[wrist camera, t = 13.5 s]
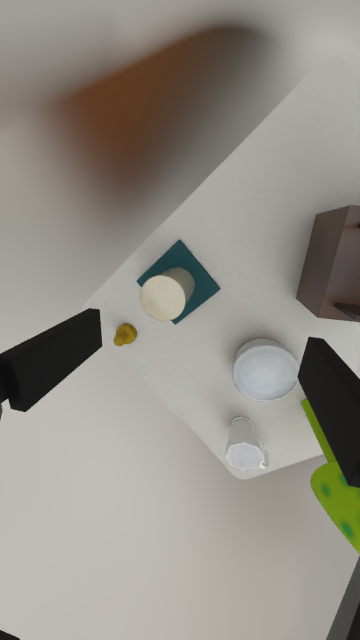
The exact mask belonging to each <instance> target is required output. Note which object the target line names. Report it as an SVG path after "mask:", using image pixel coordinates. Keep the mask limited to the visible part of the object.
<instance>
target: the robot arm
mask: <svg viewBox="0 0 360 640" xmlns="http://www.w3.org/2000/svg"><path fill="white" fill-rule="evenodd" d="M101 347H102V336H101V322H100V310H99V309H91V308H89V309H87V310H85V311H83V312H81V313H79V314H78V315H75V316H74V317H71V318H69V319H67V320H66V321H64V322H62V323H60V324H58V325H56V326H54V327H52V328H50V329H48V330H46V331H44V332H42V333H40V334H39V335H36V336H35V337H33V338H31V339H28V340H26V341H24V342H22V343H21V344H19V345H17V346H15V347H13V348H11V349H9V350H7V351H5V352H3V353H1V354H0V419H1V414H2V405H1V403H2V402H3V401H5V400H6V399H9V403H10V407H11V409H14V410H18V411H23V412H26V411H27V410H29V409H30V408H31V407H32V406H33V405H34V404H36V403H37V402H38V401H39V400H40V399H41V398H42V397H44V396H45V395H46V394H47V393H48V392H49V391H50V390H52V389H53V388H54V387H55V386H56V385H58V384H59V383H60V382H61V381H62V380H63V379H65V378H66V377H67V376H68V375H69V374H70V373H72V372H73V371H74V370H75V369H76V368H77V367H79V366H80V365H81V364H82V363H83V362H84V361H85V360H86V359H88V358H89V357H90V356H91V355H92V354H94V353H95V352H96V351H97V350H98V349H99V348H101ZM297 378H298V380H299V382H300V384H301V387H302V389H303V391H304V393H305V395H306V397H307V399H308V401H309V403H310V406H311V408H312V410H313V412H314V414H315V416H316V418H317V420H318V423H319V425H320V427H321V429H322V431H323V433H324V435H325V437H326V439H327V442H328V444H329V446H330V448H331V450H332V452H333V454H334V456H335V459H336V461H337V463H338V465H339V467H340V469H341V471H342V473H343V475H344V478H345V480H346V482H347V484H348V486H352V487H357V488H360V379H359V378H358V377H357V376H356V375H355V373H354V372H353V371H352V370H351V369H350V368H349V367H348V366H347V365H346V363H345V362H344V361H343V360H342V359H341V358H340V357H339V356H338V355H337V353H336V352H335V351H334V350H333V349H332V348H331V347H330V346H329V345H328V343H327V342H326V341H325V340H324V339H321V338H314V337H309V338H308V341H307V345H306V348H305V352H304V355H303V358H302V362H301V365H300V369H299V372H298V376H297ZM0 640H20V639H19V638H17V637H15V636H13V635H10V634H8V633H6V632H4V631H1V630H0ZM326 640H360V557H359V559H358V562H357V564H356V567H355V569H354V571H353V574H352V576H351V579H350V581H349V584H348V586H347V589H346V592H345V594H344V596H343V599H342V601H341V604H340V606H339V609H338V611H337V614H336V616H335V619H334V621H333V624H332V626H331V629H330V631H329V634H328V636H327V639H326Z"/></svg>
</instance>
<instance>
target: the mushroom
mask: <svg viewBox="0 0 360 640" xmlns="http://www.w3.org/2000/svg"><path fill="white" fill-rule="evenodd" d="M302 406H303V408H304V411H305V413H306V415H307V418H308V420H309V422H310V424H311V427H312V429H313V431H314V433H315V435H316V438H317V440H318V442H319V444H320V446H321V448H322V450H323V453H324V455H325V457H326V459H327V461H328V463H326V464H324V465H322V466H321V467H319V468H318V469H317V470H316V471H315V472H314V473H313V475H312V477H311V487H312V490H313V492H314V493H315V495H316V497H317V499H318V500H319V502H320V503H321V505H322V506H323V508H324V509H325V511H326V512H327V513H328V515H329V516H330V517H331V519H332V520H333V522H334V523H335V525H336V526H337V527H338V528H339V530H340V531H341V532H342V534H343V535H344V536H345V537H346V539H347V540H348V541H349V542H350V543H351V544H352V546H353V547H354V548H355V549H356V550H357V551H358V553H359V554H360V488H357V487H352V486H348V484H347V482H346V480H345V478H344V475H343V473H342V471H341V469H340V467H339V465H338V463H337V461H336V459H335V456H334V454H333V452H332V450H331V448H330V446H329V444H328V442H327V439H326V437H325V435H324V433H323V431H322V429H321V427H320V425H319V423H318V420H317V418H316V416H315V414H314V412H313V410H312V408H311V406H310V403H309V401H308V399H305V400H303V401H302Z"/></svg>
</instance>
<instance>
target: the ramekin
mask: <svg viewBox="0 0 360 640" xmlns="http://www.w3.org/2000/svg"><path fill="white" fill-rule="evenodd" d="M299 369H300V366H299V364H298V361H297V360H296V358H295V357H294V355H293V354H292V353H291V352H290V351H288V350H287V349H286V348H285V347H284V346H282V345H281V344H280V343H278V342H276V341H274V340H271V339H264V338H262V339H255V340H251V341H249V342H247V343H246V344H244V345H243V346H242V347H241V348H240V349H239V351H238V352H237V355H236V358H235V361H234V363H233V367H232V377H233V381H234V383H235V386H236V387H237V389H238V390H239V391H240V392H241V393H242V394H244V395H245V396H247V397H248V398H250V399H253V400H257V401H263V402H270V401H276V400H280V399H282V398H285V397H286V396H288V395H289V394H291V393H292V392H293V391H294V390H295V389H296V387H297V386H298V384H299V380H298V378H297V376H298V372H299Z"/></svg>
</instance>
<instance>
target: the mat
mask: <svg viewBox="0 0 360 640" xmlns="http://www.w3.org/2000/svg"><path fill="white" fill-rule="evenodd" d="M172 267H181V268H183V269H185V270H187V271H188V272H189V273H190V274H191V275H192V277H193V279H194V282H195V290H194V293H193V295H192V296H191V298H190V300H189V301H188V303H187V305H186V306H185V308H184V309H183V311H182V313H181V314H180V315H179V316H178V317H176V318H175V319H173V320H171V321H172V322H173V323H174V324H175V325H176V324H177V323H178V322H179V321H181V320H182V319H183V318H184V317H186V316H187V315H188V314H190V313H191V312H192V311H193V310H195V309H196V308H197V307H198V306H200V305H201V304H202V303H203V302H205V301H206V300H207V299H209V298H210V297H211V296H212V295H214V294H215V293H216V292H217V291H219V290H220V287H219V286H218V285H217V284H216V283H215V281H214V280H213V279H212V278H211V277H210V275H209V274H208V273H207V272H206V271H205V269H204V268H203V267H202V266H201V264H200V263H199V262H198V261H197V260H196V258H195V257H194V256H193V255H192V254H191V252H190V251H189V250H188V249H187V248H186V246H185V245H184V244H183V243H182V241H181V240H178V241H177V242H176V243H175V244H174V245H173V246H172V247H171V248H170V249H169V250H168V251H167V252H166V253H165V254H164V255H163V256H162V257H161V258H160V259H159V260H158V261H157V262H156V263H155V264H154V265H153V266H152V267H151V268H150V269H149V270H147V271H146V272H145V273H144V274H143V275H142V276H141V277H140V278H139V279H138V280H137V282H138V284H139V285H140V286H141V287H143V285H144V283H145V282H146V281H147V280H149V279H150V278H152V277H154V276H156V275H158V274H160V273H161V272H163V271H165V270H167V269H169V268H172Z"/></svg>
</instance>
